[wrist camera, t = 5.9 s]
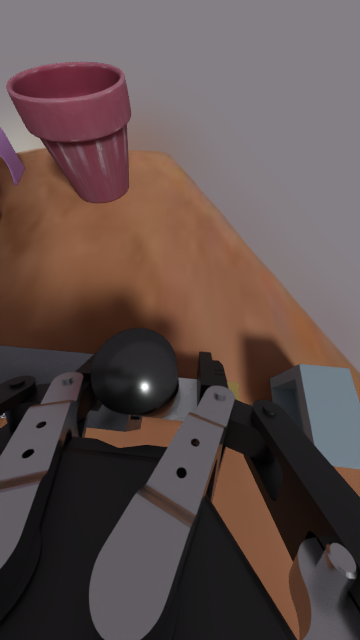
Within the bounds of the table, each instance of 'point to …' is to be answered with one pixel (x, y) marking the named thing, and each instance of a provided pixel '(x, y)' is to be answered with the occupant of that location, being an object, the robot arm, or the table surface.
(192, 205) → the table surface
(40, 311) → the table surface
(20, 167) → the toy chair
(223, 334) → the table surface
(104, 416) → the sleeve
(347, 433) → the socket
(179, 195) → the table surface
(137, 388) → the block with knob
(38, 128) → the plant pot
